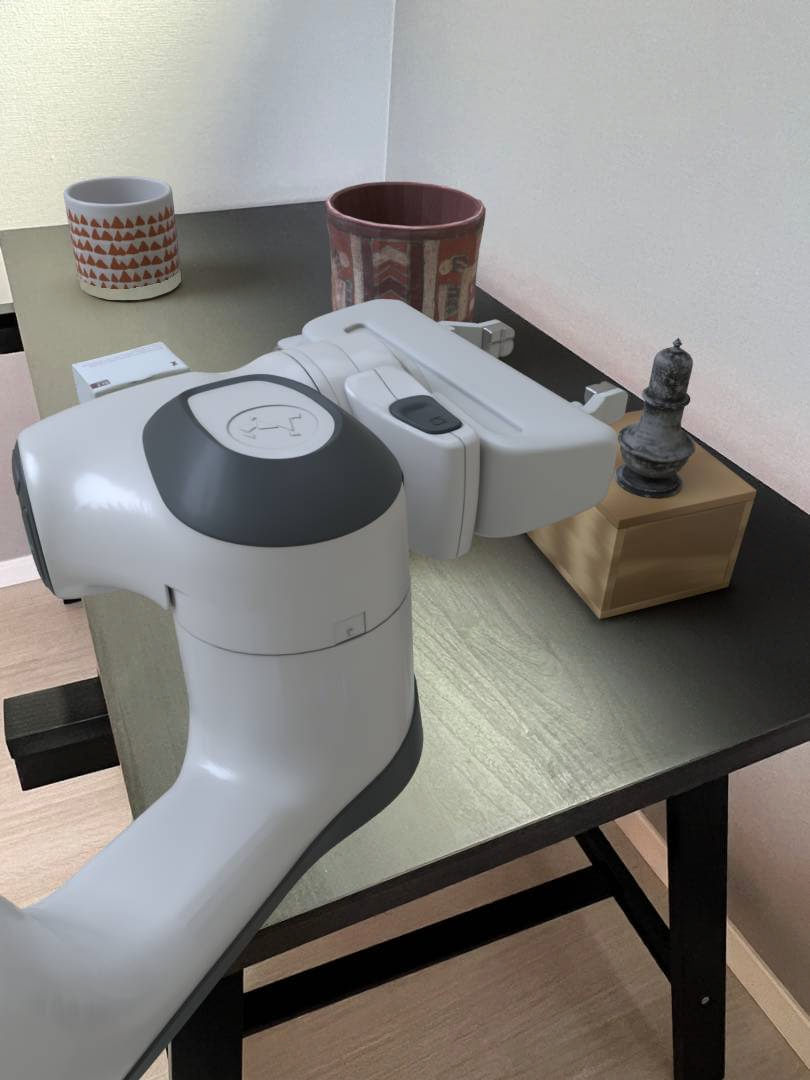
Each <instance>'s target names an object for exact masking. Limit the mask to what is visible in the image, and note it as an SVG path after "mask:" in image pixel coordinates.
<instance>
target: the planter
mask: <svg viewBox="0 0 810 1080" xmlns="http://www.w3.org/2000/svg"><path fill="white" fill-rule="evenodd" d="M173 194H174V193H173V188H172V186H170V184H169V183H167V182H165V181H163V180H159V179H156V178H151V177H145V176H136V175H135V176H134V175H114V176H103V177H102V176H101V177H95V178H90V179H85V180H80V181H78V182H75V183H72V184H69V185H68V186H67V187H66V188H65V189H64V191H63V200H64V206H65V212H66V217H67V223H68V229H69V234H70V239H71V246H72V251H73V258H74V263H75V269H76V274H77V277H78V276H79V278H80V279H82V280H83V281H84V282H86V283H88V284H90V285H93V286H97V287H101V288H110V289H130V288H136V287H143V286H147V285H153V284H156V283H161V282H163V281H165V280H168V279H169V278H171V277H173V276H174V275H176V274H177V273H178V272H179V270H180V267H181V258H180V250H179V242H178V241H179V240H178V231H177V223H176V213H175V205H174V196H173Z"/></svg>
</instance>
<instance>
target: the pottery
mask: <svg viewBox="0 0 810 1080" xmlns="http://www.w3.org/2000/svg"><path fill="white" fill-rule="evenodd" d="M486 211H487V209H486V207H485V205H484V204H483V202H482V200H481V199H479V198H477V197H476V196H473V195H471V194H470V193H468V192H466V191H463V190H460V189H456V188H453V187H450V186H447V185H440V184H434V183H428V182H418V181H404V180H403V181H376V182H375V181H374V182H363V183H358V184H355V185H350V186H347V187H344V188H342V189H339V190H338V191H335V192H333V193H332V194H330V196H329V197H328V198H327V199H326V200H325V202H324V214H325V220H326V226H327V227H326V228H327V233H328V245H329V254H330V266H331V267H330V268H331V272H330V273H331V274H330V275H331V276H330V277H331V281H330V282H331V288H330V289H331V291H330V293H331V295H330V296H331V312H334V311H337V310H340V309H344V308H347V307H350V306H354V305H357V304H360V303H364V302H368V301H372V300H376V299H391V300H400V301H402V302H404V303H406V304H407V305H409V306H411V307H412V308H414V309H416V310H417V311H419V312H421V313H422V314H424V315H426V316H427V317H429V318H431V319H432V320H434V321H436V322H440V321H453V322H466V323H473V319H474V313H475V302H476V301H475V299H476V285H477V275H478V264H479V257H480V248H481V243H482V237H483V232H484V228H485V227H484V226H485V222H486Z"/></svg>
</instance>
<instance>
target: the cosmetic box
mask: <svg viewBox="0 0 810 1080" xmlns="http://www.w3.org/2000/svg"><path fill="white" fill-rule="evenodd" d="M71 369H72V375H73V380H74V384H75V389H76V393H77V398H78V399H77V400H78V404H81V403H84V402H87V401H89V400H92V399H95V398H98V397H101V396H104V395H107V394H110V393H113V392H116V391H119V390H123V389H126V388H129V387H133V386H136V385H140V384H143V383H147V382H150V381H154V380H157V379H162V378H166V377H170V376H174V375H179V374H183V373H187V372H191V371H190V369H191V368H190V367H189V365H187V364H186V363H185V362H184V361H183V360H181V359H180V357H178V356H177V355H176V354H175V353H174V352H173V351H172V350H170V349H169V347H168V346H167V345H166V344H165V343H163V341H158V342H153V343H150V344H146V345H142V346H139V347H136V348H132V349H128V350H124V351H121V352H116V353H112V354H108V355H105V356H100V357H96V358H93V359H92V358H91V359H88V360H85V361H79V362H76V363H72V364H71Z"/></svg>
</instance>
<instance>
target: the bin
mask: <svg viewBox="0 0 810 1080" xmlns="http://www.w3.org/2000/svg"><path fill="white" fill-rule="evenodd" d="M754 500H755V499H753V500H749V501H744V502H740V503H735V504H731V505H726V506H722V507H717V508H712V509H708V510H703V511H699V512H694V513H690V514H685V515H681V516H676V517H671V518H667V519H662V520H658V521H653V522H649V523H644V524H640V525H635V526H630V527H626V528H621V529H617V528H616V527H615V526H614V525H613V524H612V523H611V522H610V521H609V520H608V519H607V518H606V517H605V516H604V515H603V514H602V513H601V512H600V511H599V510H598V509H597V508H596V507H595V506H594V507H592V508H590V509H589V510H586V511H584V512H581V513H579V514H577V515H574V516H572V517H569V518H567V519H564V520H561V521H559V522H556V523H553V524H550V525H547V526H545V527H542V528H539V529H536V530H533V531H529V532H526V533H525V534H526V535H527V537H529V538H530V539H531V541H532V542H533V543H534V544H535V545H536V547H537V548H538V549H539V550H540V551H541V552H542V554H543V555H544V556H545V557H546V558H547V560H548V561H549V562H550V563H551V565H553V567H554V568H555V569H556V571H558V572H559V573H560V575H561V576H562V577H563V579H565V581H566V582H567V583H568V584H569V586H570V587H571V588H572V589H573V590H574V591H575V592H576V594H577V595H578V596H579V597H580V599H581V600H582V601H583V602H584V603H585V604H586V606H588V608H589V609H590V610H591V611H592V612H593V614H594V615H595V616H596V617H597V618H598V620H603V619H608V618H610V617H614V616H615V617H616V616H619V615H623V614H626V613H630V612H634V611H638V610H643V609H646V608H650V607H654V606H658V605H663V604H667V603H670V602H674V601H678V600H682V599H686V598H690V597H695V596H698V595H702V594H705V593H710V592H714V591H717V590H721V589H725V588H728V587H729V586H730V582H731V578H732V575H733V572H734V568H735V565H736V561H737V560H738V559H737V558H738V555H739V551H740V548H741V545H742V542H743V538H744V534H745V530H746V528H747V525H748V522H749V518H750V515H751V511H752V508H753V505H754Z"/></svg>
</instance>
